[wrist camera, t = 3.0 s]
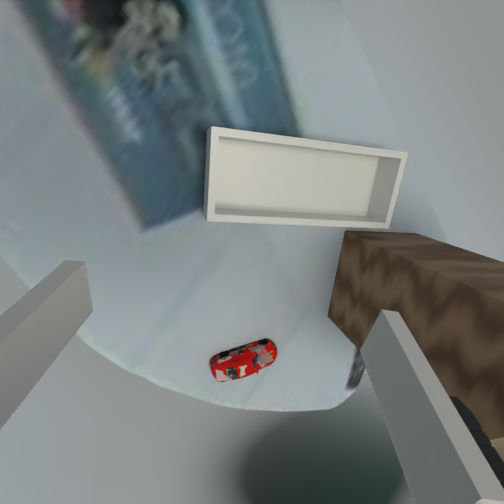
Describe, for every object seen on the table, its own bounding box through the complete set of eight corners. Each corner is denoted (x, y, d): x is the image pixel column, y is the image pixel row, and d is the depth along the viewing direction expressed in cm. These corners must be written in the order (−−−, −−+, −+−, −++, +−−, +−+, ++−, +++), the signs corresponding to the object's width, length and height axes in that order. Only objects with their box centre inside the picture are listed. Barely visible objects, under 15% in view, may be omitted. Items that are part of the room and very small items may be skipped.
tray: (206, 130, 40) (211, 126, 34) (381, 152, 48) (408, 152, 42) (203, 212, 43) (206, 221, 38) (366, 220, 51) (388, 228, 46)
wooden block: (345, 230, 51) (677, 380, 17) (415, 233, 55) (792, 357, 21) (327, 316, 56) (552, 557, 23) (392, 312, 61) (663, 510, 27)
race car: (273, 334, 55) (280, 347, 51) (276, 355, 57) (283, 369, 53) (207, 353, 52) (210, 368, 49) (213, 375, 54) (216, 391, 51)
